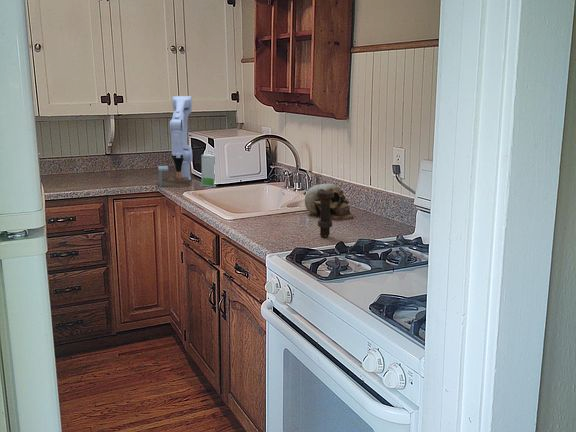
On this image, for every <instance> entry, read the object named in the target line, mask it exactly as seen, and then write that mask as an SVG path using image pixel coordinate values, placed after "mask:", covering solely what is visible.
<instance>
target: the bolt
mask: <svg viewBox="0 0 576 432" xmlns="http://www.w3.org/2000/svg"><path fill="white" fill-rule="evenodd" d="M317 196H318V197H319V198H320V216H319V220H318V221H317V226H318V227H319V230H320V231H319V234H320V235H319V236H320V237H321V238H322V239H324V238H325V237H326V238H328V237H329V236H330V229H331V228H332V227H333V220H332V219H330V202H331V198H332V197H334V192H332V191H319V192H317Z"/></svg>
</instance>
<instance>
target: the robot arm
mask: <svg viewBox="0 0 576 432" xmlns="http://www.w3.org/2000/svg"><path fill="white" fill-rule="evenodd" d="M171 103H172V104H171V105H172V108H173V112H172V113H173V114H172V117H171V119H170V120H169V131H170V132H169V133H170V136H171V137H170V138H171V140H170V141H171V157H172V161H173V163H174V166H175V172H176V171H177V172H181V169H182V177H188V178H189V181H191V180H192V176H191V165H190V164H191V163H192V162H193V149H192V147H191V146H190V145H189V144H188V118H189V115H190V114H192V111H193V99H192V96H191V95H176V96H175V95H173V96H172V99H171Z"/></svg>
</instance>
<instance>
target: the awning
mask: <svg viewBox="0 0 576 432" xmlns="http://www.w3.org/2000/svg"><path fill="white" fill-rule="evenodd" d="M157 168H158V169H157V170H158V187H159V188H163V180H162V178H163V172H165V171H167V172H168V171H169V166H168V165H158V166H157Z"/></svg>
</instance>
